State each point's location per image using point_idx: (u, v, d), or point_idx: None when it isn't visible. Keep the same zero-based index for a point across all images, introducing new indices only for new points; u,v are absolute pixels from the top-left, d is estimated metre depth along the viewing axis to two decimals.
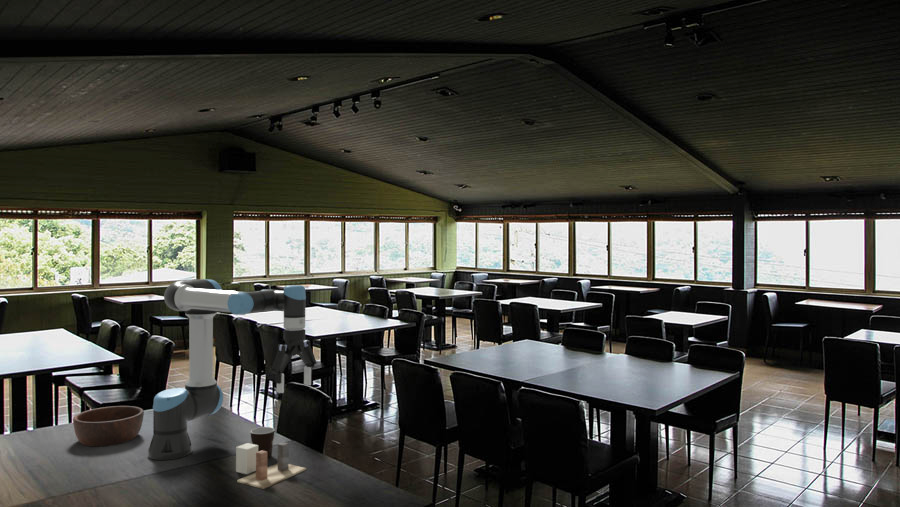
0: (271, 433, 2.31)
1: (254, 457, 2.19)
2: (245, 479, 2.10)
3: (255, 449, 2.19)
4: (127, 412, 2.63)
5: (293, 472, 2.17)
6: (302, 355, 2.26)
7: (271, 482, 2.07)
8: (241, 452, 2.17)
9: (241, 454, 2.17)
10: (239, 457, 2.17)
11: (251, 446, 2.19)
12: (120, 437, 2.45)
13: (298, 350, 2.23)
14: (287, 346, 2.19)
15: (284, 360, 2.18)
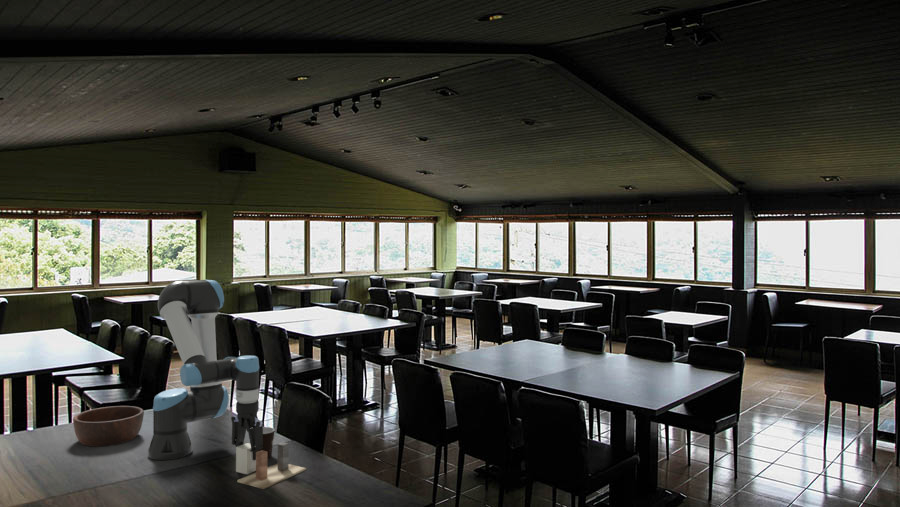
0: (271, 433, 2.31)
1: None
2: (245, 479, 2.10)
3: None
4: (127, 412, 2.63)
5: (293, 472, 2.17)
6: None
7: (271, 482, 2.07)
8: (241, 452, 2.17)
9: (241, 454, 2.17)
10: (239, 457, 2.17)
11: None
12: (119, 437, 2.45)
13: None
14: (237, 417, 2.20)
15: None
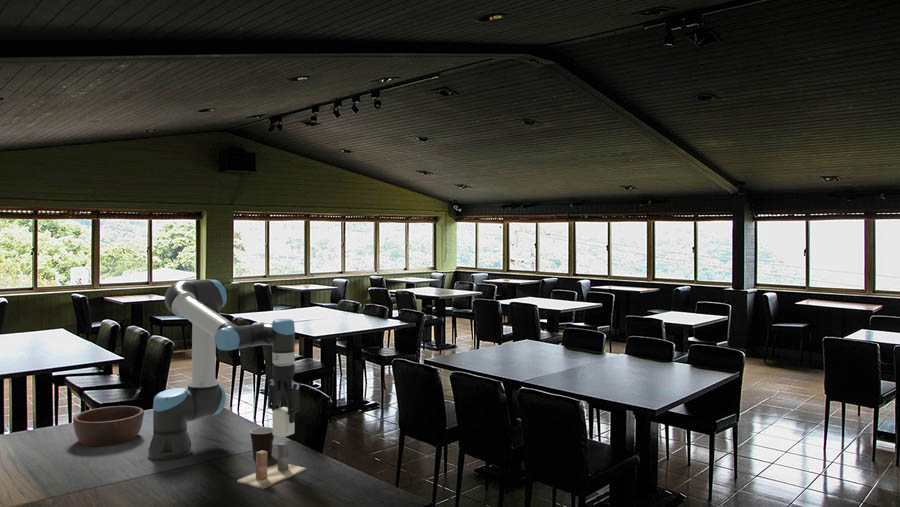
0: (271, 433, 2.31)
1: None
2: (245, 479, 2.10)
3: None
4: (127, 412, 2.63)
5: (293, 472, 2.17)
6: None
7: (271, 482, 2.07)
8: (278, 415, 2.16)
9: (278, 417, 2.16)
10: (276, 420, 2.17)
11: None
12: (119, 437, 2.45)
13: None
14: (273, 380, 2.20)
15: None
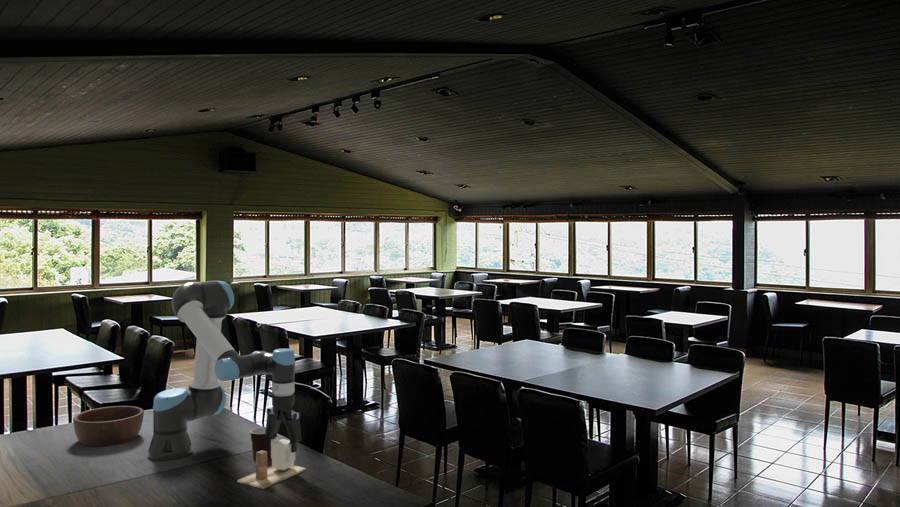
0: None
1: None
2: (245, 479, 2.10)
3: None
4: (127, 412, 2.63)
5: (293, 472, 2.17)
6: None
7: (271, 482, 2.07)
8: (277, 448, 2.17)
9: (277, 450, 2.17)
10: (275, 453, 2.17)
11: (287, 442, 2.18)
12: (119, 437, 2.45)
13: None
14: (273, 409, 2.20)
15: None
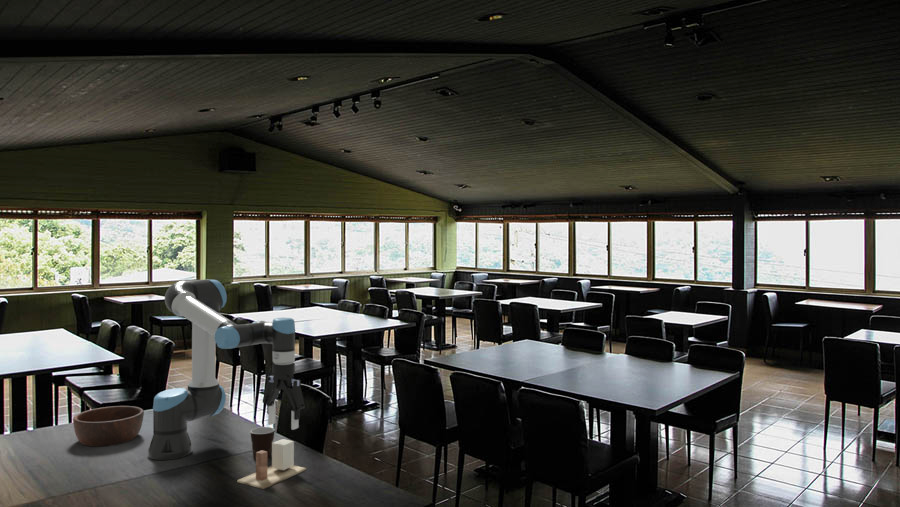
0: (271, 433, 2.31)
1: (290, 453, 2.19)
2: (245, 479, 2.10)
3: (291, 445, 2.19)
4: (127, 412, 2.63)
5: (293, 472, 2.17)
6: None
7: (271, 482, 2.07)
8: (277, 448, 2.17)
9: (277, 450, 2.17)
10: (275, 453, 2.17)
11: (287, 442, 2.18)
12: (119, 437, 2.45)
13: None
14: (273, 378, 2.20)
15: None
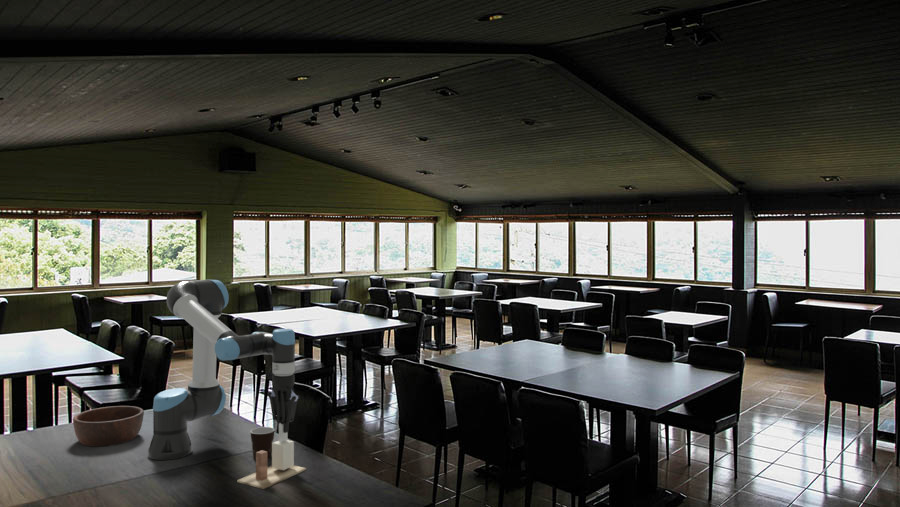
0: (271, 433, 2.31)
1: (290, 453, 2.19)
2: (245, 479, 2.10)
3: (291, 445, 2.19)
4: (127, 412, 2.63)
5: (293, 472, 2.17)
6: None
7: (271, 482, 2.07)
8: (277, 448, 2.17)
9: (277, 450, 2.17)
10: (275, 453, 2.17)
11: (287, 442, 2.18)
12: (119, 437, 2.45)
13: None
14: (273, 390, 2.20)
15: None
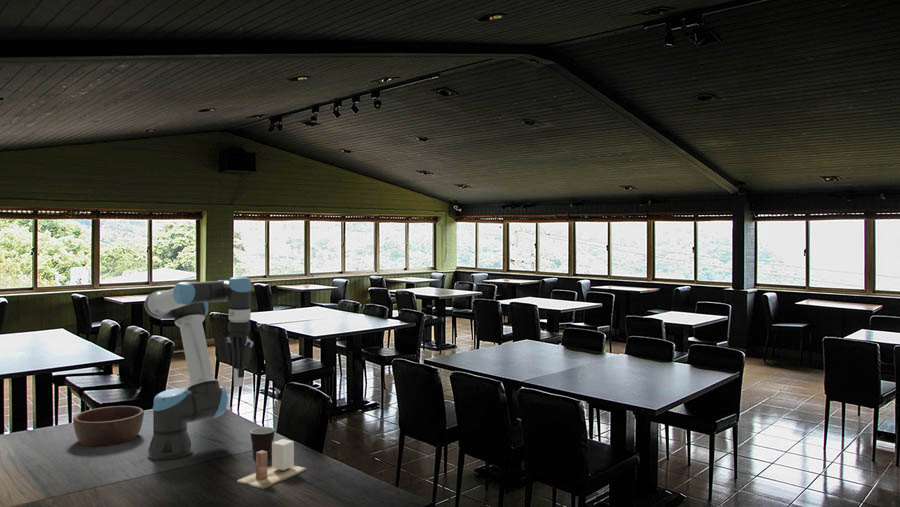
0: (271, 433, 2.31)
1: (290, 453, 2.19)
2: (245, 479, 2.10)
3: (291, 445, 2.19)
4: (127, 412, 2.63)
5: (293, 472, 2.17)
6: None
7: (271, 482, 2.07)
8: (277, 448, 2.17)
9: (277, 450, 2.17)
10: (275, 453, 2.17)
11: (287, 442, 2.18)
12: (119, 437, 2.45)
13: None
14: (229, 337, 2.26)
15: None
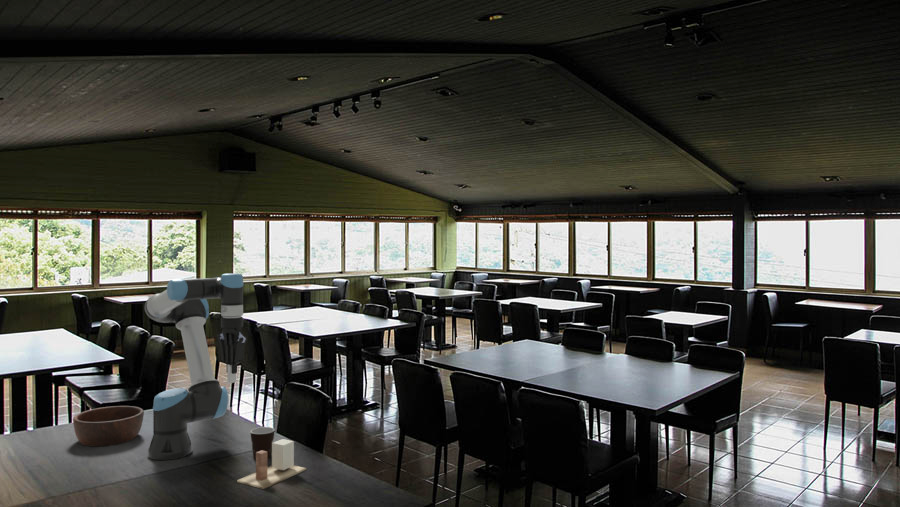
0: (271, 433, 2.31)
1: (290, 453, 2.19)
2: (245, 479, 2.10)
3: (291, 445, 2.19)
4: (127, 412, 2.63)
5: (293, 472, 2.17)
6: None
7: (271, 482, 2.07)
8: (277, 448, 2.17)
9: (277, 450, 2.17)
10: (275, 453, 2.17)
11: (287, 442, 2.18)
12: (119, 437, 2.45)
13: None
14: (222, 333, 2.26)
15: None
